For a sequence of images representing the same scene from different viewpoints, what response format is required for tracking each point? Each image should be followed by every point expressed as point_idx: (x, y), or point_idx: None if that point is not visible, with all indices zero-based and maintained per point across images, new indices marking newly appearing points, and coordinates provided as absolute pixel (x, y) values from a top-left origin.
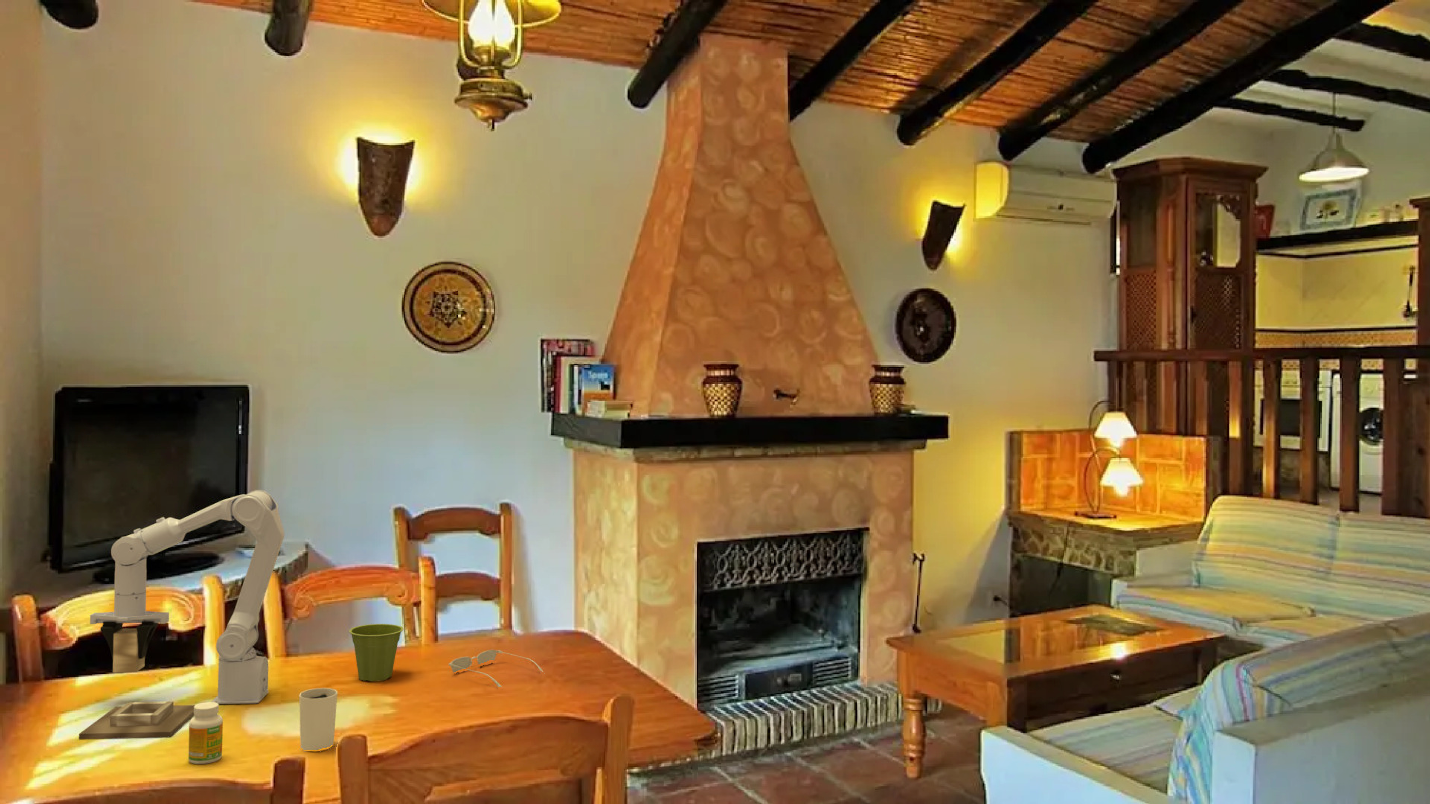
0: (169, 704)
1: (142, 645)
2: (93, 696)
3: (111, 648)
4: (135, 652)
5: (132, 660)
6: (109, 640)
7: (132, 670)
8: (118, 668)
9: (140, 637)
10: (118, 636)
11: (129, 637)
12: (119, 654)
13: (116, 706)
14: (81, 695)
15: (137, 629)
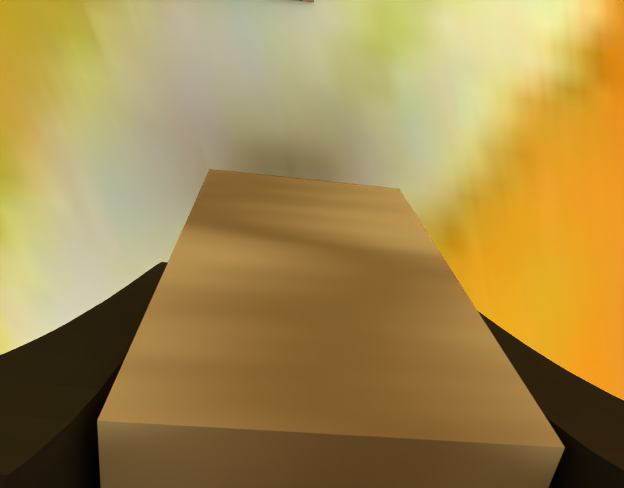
0: None
1: (89, 313)
2: (484, 305)
3: (491, 330)
4: (188, 245)
5: (231, 209)
6: (568, 387)
7: (239, 179)
8: (359, 194)
9: (61, 377)
10: (456, 403)
11: (254, 373)
12: (375, 251)
13: (310, 1)
14: (540, 327)
15: (2, 467)
